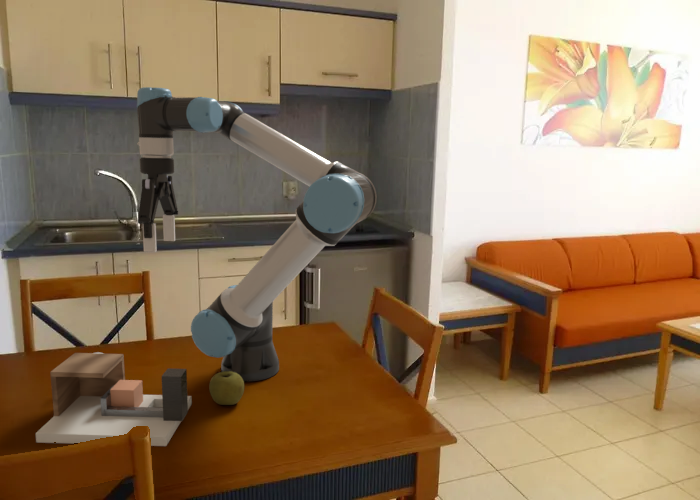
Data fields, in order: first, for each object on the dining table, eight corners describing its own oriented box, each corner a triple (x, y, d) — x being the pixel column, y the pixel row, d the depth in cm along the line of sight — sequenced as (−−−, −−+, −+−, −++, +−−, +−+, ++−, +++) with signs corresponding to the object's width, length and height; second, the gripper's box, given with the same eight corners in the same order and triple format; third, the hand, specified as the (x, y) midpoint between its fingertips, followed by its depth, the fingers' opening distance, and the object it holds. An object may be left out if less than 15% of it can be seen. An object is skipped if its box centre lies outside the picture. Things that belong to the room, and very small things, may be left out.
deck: (191, 404, 129) (191, 396, 128) (166, 446, 111) (165, 437, 111) (79, 400, 129) (79, 392, 128) (36, 442, 111) (35, 433, 111)
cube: (143, 401, 125) (142, 380, 124) (134, 411, 120) (133, 390, 119) (121, 400, 125) (119, 379, 124) (111, 411, 120) (110, 389, 119)
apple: (214, 395, 134) (214, 367, 132) (247, 396, 133) (247, 368, 132) (205, 410, 126) (204, 380, 125) (240, 411, 126) (240, 382, 125)
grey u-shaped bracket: (192, 404, 124) (191, 362, 122) (182, 421, 117) (180, 376, 115) (113, 402, 124) (111, 360, 122) (98, 418, 117) (95, 374, 115)
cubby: (125, 395, 128) (123, 354, 126) (105, 417, 118) (103, 373, 116) (78, 393, 128) (75, 352, 126) (54, 416, 118) (50, 371, 116)
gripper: (159, 154, 142) (162, 236, 146) (118, 158, 117) (123, 256, 121) (188, 155, 142) (190, 237, 146) (154, 159, 117) (158, 257, 121)
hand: (160, 246), depth 134 cm, fingers open, 13 cm apart
